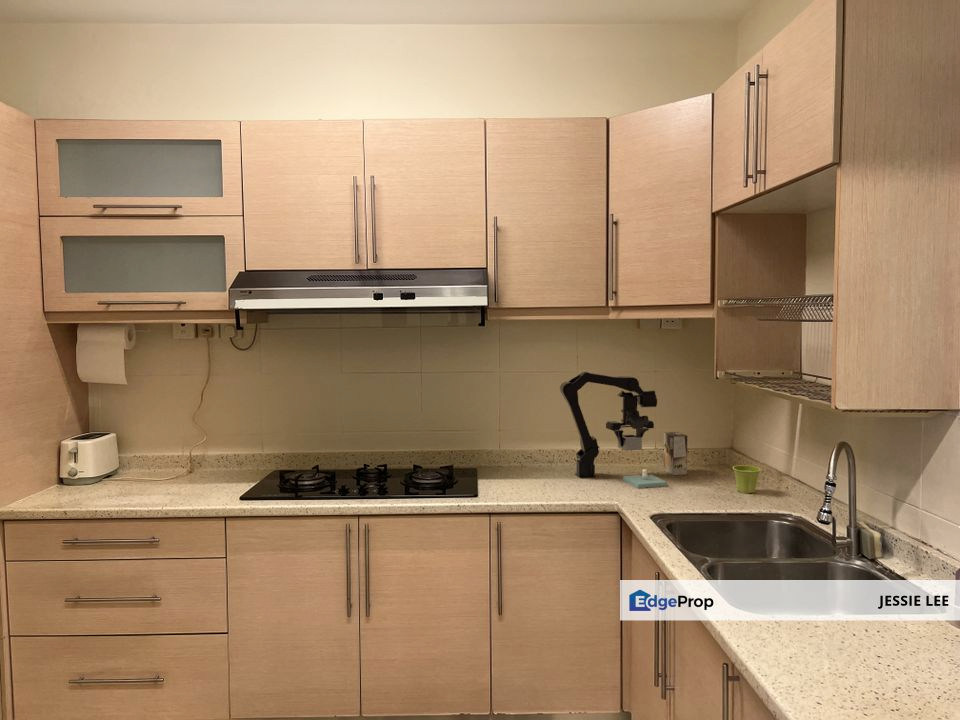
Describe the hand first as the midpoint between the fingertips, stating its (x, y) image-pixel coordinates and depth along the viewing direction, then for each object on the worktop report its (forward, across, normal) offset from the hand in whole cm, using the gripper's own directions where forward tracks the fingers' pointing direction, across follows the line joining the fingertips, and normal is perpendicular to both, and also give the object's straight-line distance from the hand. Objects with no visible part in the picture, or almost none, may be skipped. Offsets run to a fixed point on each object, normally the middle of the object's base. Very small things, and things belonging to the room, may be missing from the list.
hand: (629, 445), depth 252 cm
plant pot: (+12, +30, -33) cm, 46 cm away
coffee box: (+12, +20, -1) cm, 23 cm away
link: (+1, 0, 0) cm, 1 cm away
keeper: (+12, 0, -13) cm, 18 cm away
